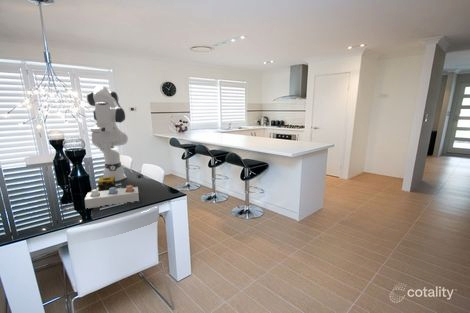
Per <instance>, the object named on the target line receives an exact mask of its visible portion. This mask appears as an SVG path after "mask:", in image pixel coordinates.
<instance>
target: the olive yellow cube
mask: <svg viewBox="0 0 470 313" xmlns="http://www.w3.org/2000/svg"><path fill="white" fill-rule="evenodd" d="M97 187H98V188H97V189H98V190H99V191H106V190H109V188H112V187H116V188H117V184H116V181H115V176H113V177H104V176H102V177H100V176H99V179H98V180H97Z"/></svg>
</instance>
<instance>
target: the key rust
mask: <svg viewBox="0 0 470 313" xmlns="http://www.w3.org/2000/svg"><path fill="white" fill-rule="evenodd" d="M133 187H134V186H133V185H132V184H129V185H126V186H125V188H126V189H127V192H133Z"/></svg>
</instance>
